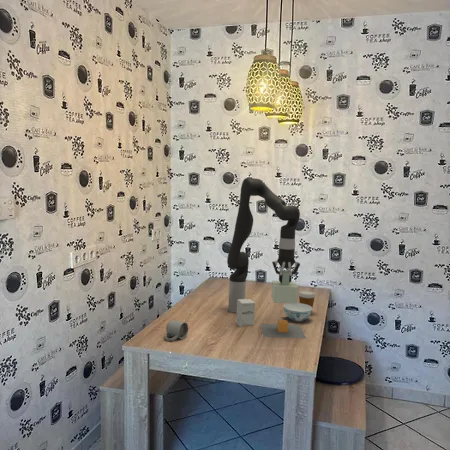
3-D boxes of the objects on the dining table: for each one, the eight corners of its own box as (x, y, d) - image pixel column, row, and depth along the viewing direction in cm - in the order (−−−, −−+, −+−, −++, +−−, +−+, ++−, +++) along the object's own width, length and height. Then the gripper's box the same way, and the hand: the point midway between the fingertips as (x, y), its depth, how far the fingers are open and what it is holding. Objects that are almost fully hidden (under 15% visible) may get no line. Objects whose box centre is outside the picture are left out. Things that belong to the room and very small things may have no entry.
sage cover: (273, 302, 205) (275, 273, 203) (271, 296, 216) (273, 268, 214) (297, 303, 205) (298, 274, 203) (293, 297, 216) (295, 269, 214)
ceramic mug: (174, 332, 207) (174, 317, 206) (188, 336, 203) (188, 320, 202) (160, 339, 197) (160, 323, 196) (175, 343, 194) (175, 327, 193)
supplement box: (240, 327, 216) (241, 303, 215) (235, 322, 224) (236, 298, 222) (254, 326, 218) (255, 302, 217) (249, 322, 226) (250, 298, 224)
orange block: (278, 332, 210) (278, 323, 209) (277, 328, 214) (277, 319, 214) (287, 332, 210) (288, 323, 209) (286, 329, 214) (286, 320, 214)
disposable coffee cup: (314, 316, 238) (315, 295, 237) (296, 315, 240) (298, 293, 239) (314, 311, 247) (315, 291, 246) (297, 309, 249) (298, 289, 248)
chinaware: (301, 315, 239) (302, 301, 239) (317, 324, 226) (318, 310, 225) (277, 317, 234) (278, 303, 233) (291, 327, 220) (292, 312, 219)
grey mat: (263, 338, 203) (263, 336, 203) (260, 325, 221) (260, 323, 221) (306, 340, 203) (306, 338, 203) (299, 326, 221) (299, 325, 221)
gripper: (273, 248, 203) (271, 284, 205) (303, 249, 203) (300, 285, 205) (271, 245, 211) (269, 280, 213) (300, 246, 211) (298, 281, 213)
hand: (285, 282), depth 209 cm, fingers closed on sage cover, 3 cm apart
